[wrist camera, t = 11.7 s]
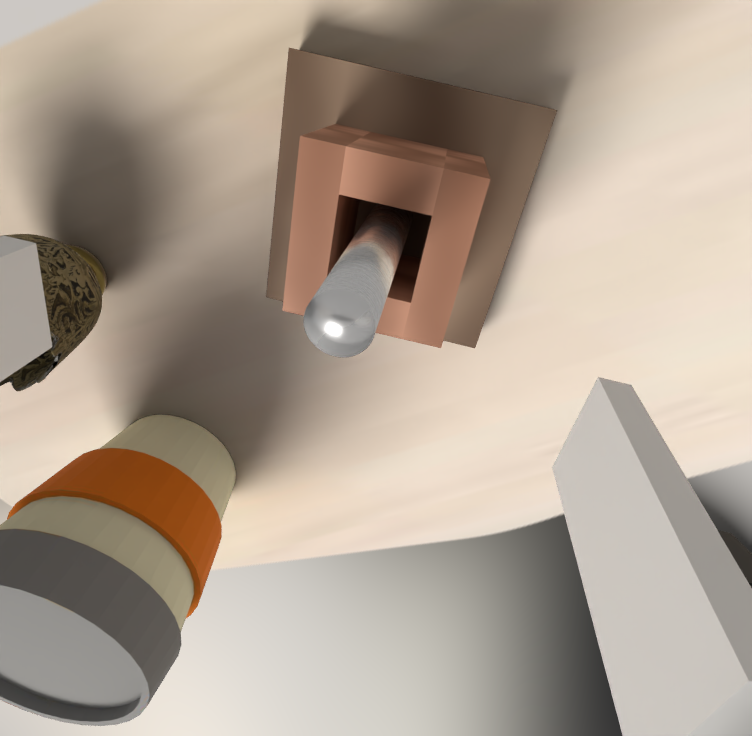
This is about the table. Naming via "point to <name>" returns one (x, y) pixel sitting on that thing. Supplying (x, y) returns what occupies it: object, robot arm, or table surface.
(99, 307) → the cup
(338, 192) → the brown open box
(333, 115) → the brown square board
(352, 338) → the silver metal rod
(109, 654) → the reusable coffee cup
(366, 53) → the table surface
